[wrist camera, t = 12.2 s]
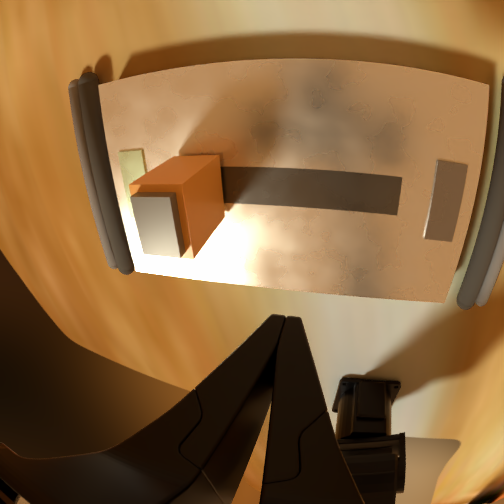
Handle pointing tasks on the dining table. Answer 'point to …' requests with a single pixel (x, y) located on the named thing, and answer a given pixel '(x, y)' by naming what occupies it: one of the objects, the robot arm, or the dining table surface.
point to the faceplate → (311, 170)
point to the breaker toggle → (178, 205)
